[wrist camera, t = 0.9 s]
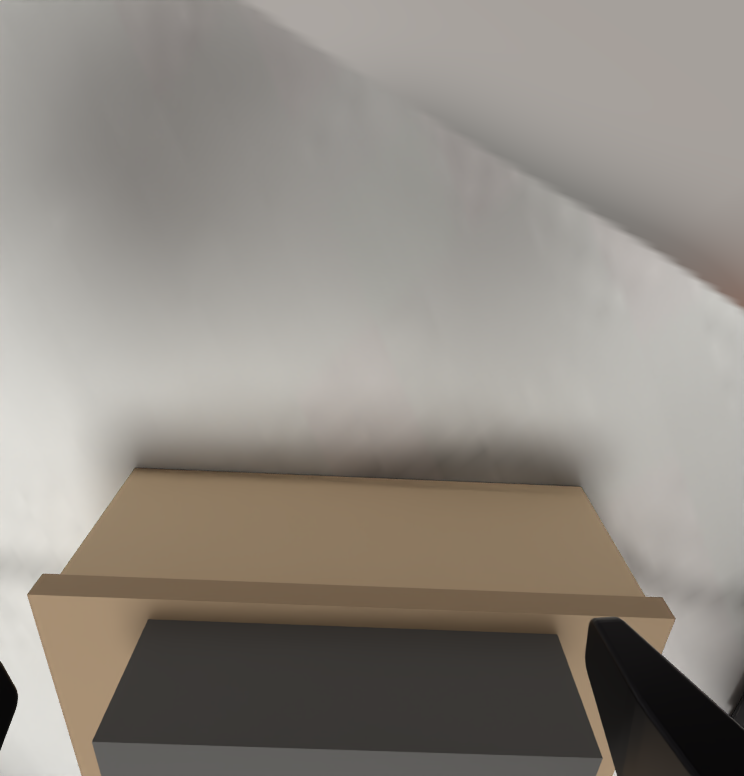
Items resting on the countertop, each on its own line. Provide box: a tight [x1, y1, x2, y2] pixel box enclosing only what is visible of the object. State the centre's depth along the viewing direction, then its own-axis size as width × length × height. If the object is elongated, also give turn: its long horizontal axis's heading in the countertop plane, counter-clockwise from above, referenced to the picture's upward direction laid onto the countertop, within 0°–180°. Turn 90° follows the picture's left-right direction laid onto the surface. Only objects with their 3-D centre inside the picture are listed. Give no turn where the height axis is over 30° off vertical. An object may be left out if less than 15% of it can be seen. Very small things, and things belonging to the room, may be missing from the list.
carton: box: [61, 468, 645, 597], centre depth 23 cm, size 18×16×6 cm
